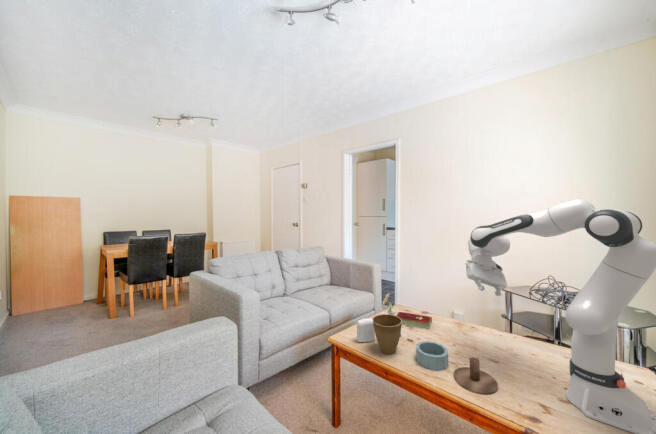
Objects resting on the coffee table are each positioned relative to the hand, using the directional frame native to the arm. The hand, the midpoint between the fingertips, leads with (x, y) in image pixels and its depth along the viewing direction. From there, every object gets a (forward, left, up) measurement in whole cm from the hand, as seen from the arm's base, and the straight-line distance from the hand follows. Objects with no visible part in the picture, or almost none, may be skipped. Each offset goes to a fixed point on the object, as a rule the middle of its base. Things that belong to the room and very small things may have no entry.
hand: (490, 292), depth 113 cm
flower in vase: (+50, +7, -35) cm, 61 cm away
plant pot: (+41, +22, -35) cm, 58 cm away
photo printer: (+55, +23, -35) cm, 69 cm away
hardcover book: (+50, -17, -35) cm, 63 cm away
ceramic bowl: (+21, +14, -35) cm, 43 cm away
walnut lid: (+2, +14, -35) cm, 38 cm away
